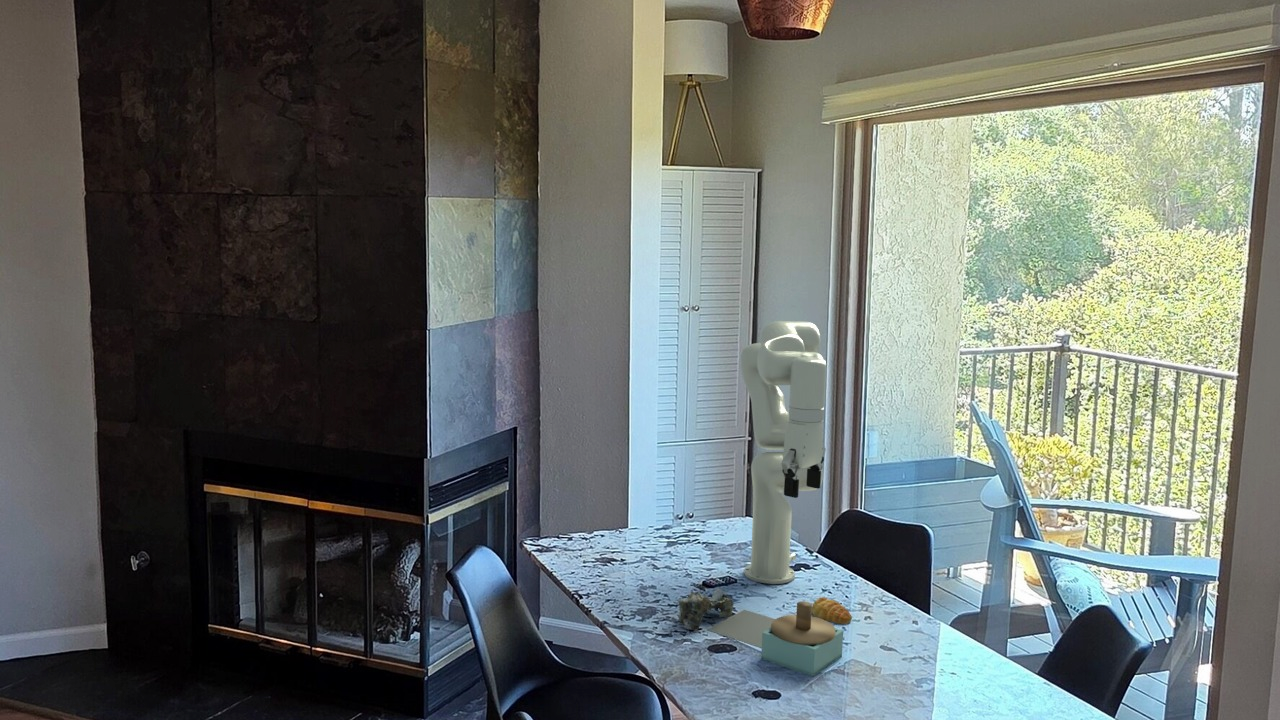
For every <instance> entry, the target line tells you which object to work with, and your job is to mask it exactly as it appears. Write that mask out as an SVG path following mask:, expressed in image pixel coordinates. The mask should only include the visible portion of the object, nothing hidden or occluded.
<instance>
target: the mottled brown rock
mask: <svg viewBox="0 0 1280 720" xmlns="http://www.w3.org/2000/svg"><path fill="white" fill-rule="evenodd" d="M677 603H678V605H679V612H680V613H679V614H677V617H678V620H679V624H683V628H684V629H686V630H685V631H687V630H691V631H693V633H696V632H698V631H699V629H700V625H701V623H702V621H703V620H704V618H705V617H704V616H705V614H706V613H708V611H710V612H712V610H714V611H716V612H719V615H718V618H729V617H731V616H733V608H734V604H735V603H734V600H733V599H732V598H731V596H728V595H727V594H726V592H724V591H723V590H722V588H720V587H719V586H716V589H715V590H714V591H713V594H712V596H711V598H710V597H709V596H707V595H705V594H702V593H701V592H700V590H699V589H698V591H697V593H696V592H694V590H693V591H692V590H691V591H690V594H688V595H687V597H685V598H681V599H677Z"/></svg>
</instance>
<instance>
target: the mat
mask: <svg viewBox="0 0 1280 720" xmlns="http://www.w3.org/2000/svg"><path fill="white" fill-rule="evenodd" d="M775 619H776V618H774V617H770V616H766V615H763V614H760V613H758V612H754V611H751V610H747V609H743V610H740V611H739V612H737V613H735V614H732V615H731V616H730V617H727V618H726V619H724V620H722V621H720V622H718V623H717V624H715V625H713V626H711V627H709V628H707V629H706V630H707V631H709V632H712V633H715V634H718V635H721V636H724V637H727V638H730V639H733V640H736V641H738V642H741V643H744V644H748V645H751V646H754V647H757V648H760V649H762V633H763V632H764V631H766V630H768V629H769V628H771V623H772V622H773V621H774V620H775Z"/></svg>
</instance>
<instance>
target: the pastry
mask: <svg viewBox="0 0 1280 720" xmlns="http://www.w3.org/2000/svg"><path fill="white" fill-rule="evenodd" d="M811 615H813V617H817V618H820V619H823V620H825V621H827V622H829V623H833V624H838V625H839V624H840V625H847V624H850V623H851V621H852V618H853V617H852V614H851V613H850V611H849V610H848V609H846V607H845V606H843V605H842V604H841V603H840V601H839V602H837V601H835V599H828V598H827V597H819V598H817V599H816V600H815V601H814V602H813V603H812V613H811Z"/></svg>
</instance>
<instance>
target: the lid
mask: <svg viewBox="0 0 1280 720" xmlns="http://www.w3.org/2000/svg"><path fill="white" fill-rule="evenodd" d="M812 605H813V603H810V602H809V601H798V602H796V614H789V615H784V616H779V617H776V618H774V619H775V620H774V621H773V622H772V623H771V631H772V633H773V634H774V635H775V636H776V637H778V638H780V639H782V640H784V641H787V642H791V643H795V644H803V645H817V644H823V643H827V642H829V641H831V640H833V639H834V637H835V632H836V630H835V628H836V627H835V626H834V625H833V624H832V622H830V621H826V620H823V619H820V618H817V617H815V616H812Z"/></svg>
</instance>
